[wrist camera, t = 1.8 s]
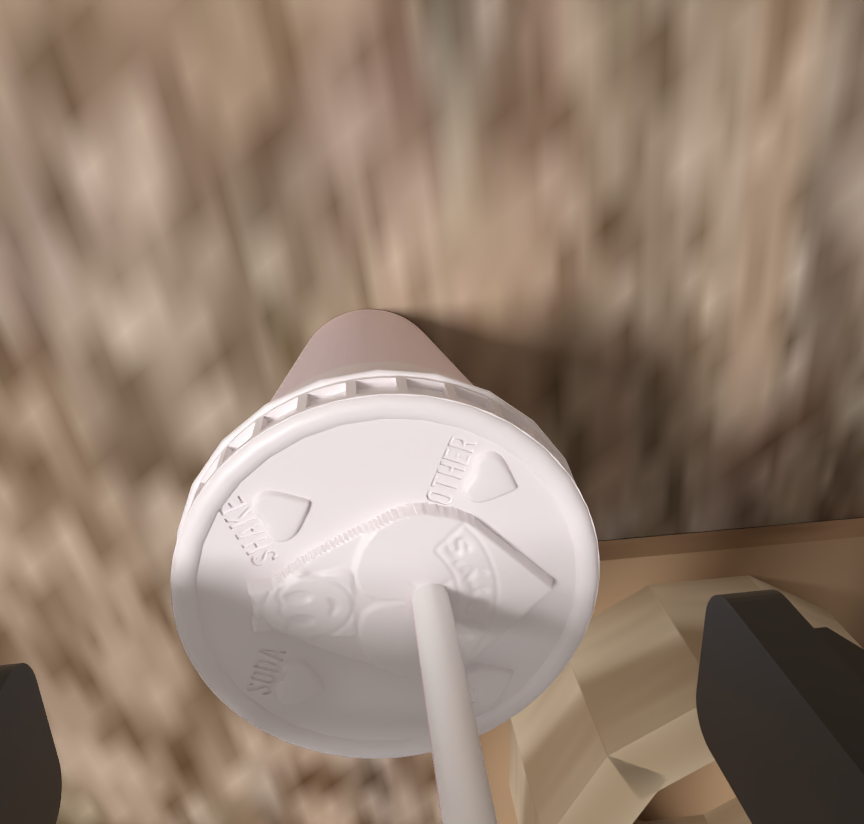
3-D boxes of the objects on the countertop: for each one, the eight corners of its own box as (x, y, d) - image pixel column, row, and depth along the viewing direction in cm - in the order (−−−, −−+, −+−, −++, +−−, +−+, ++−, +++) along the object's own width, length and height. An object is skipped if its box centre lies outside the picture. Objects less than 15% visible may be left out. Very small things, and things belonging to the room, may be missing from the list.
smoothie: (491, 481, 22) (706, 1034, 9) (257, 497, 21) (125, 1113, 8) (492, 249, 20) (788, 547, 7) (228, 260, 19) (-17, 610, 6)
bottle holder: (896, 514, 24) (1047, 628, 19) (831, 829, 29) (936, 987, 24) (469, 553, 23) (505, 684, 18) (476, 873, 28) (507, 1048, 22)
